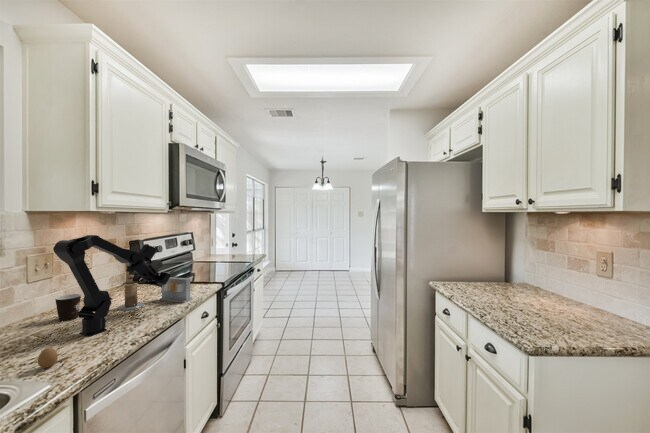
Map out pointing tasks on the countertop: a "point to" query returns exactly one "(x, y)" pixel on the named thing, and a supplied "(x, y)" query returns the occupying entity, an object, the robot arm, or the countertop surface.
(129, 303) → the pepper mill
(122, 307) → the coaster
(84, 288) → the robot arm
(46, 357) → the egg
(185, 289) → the switch panel
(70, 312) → the coffee mug
